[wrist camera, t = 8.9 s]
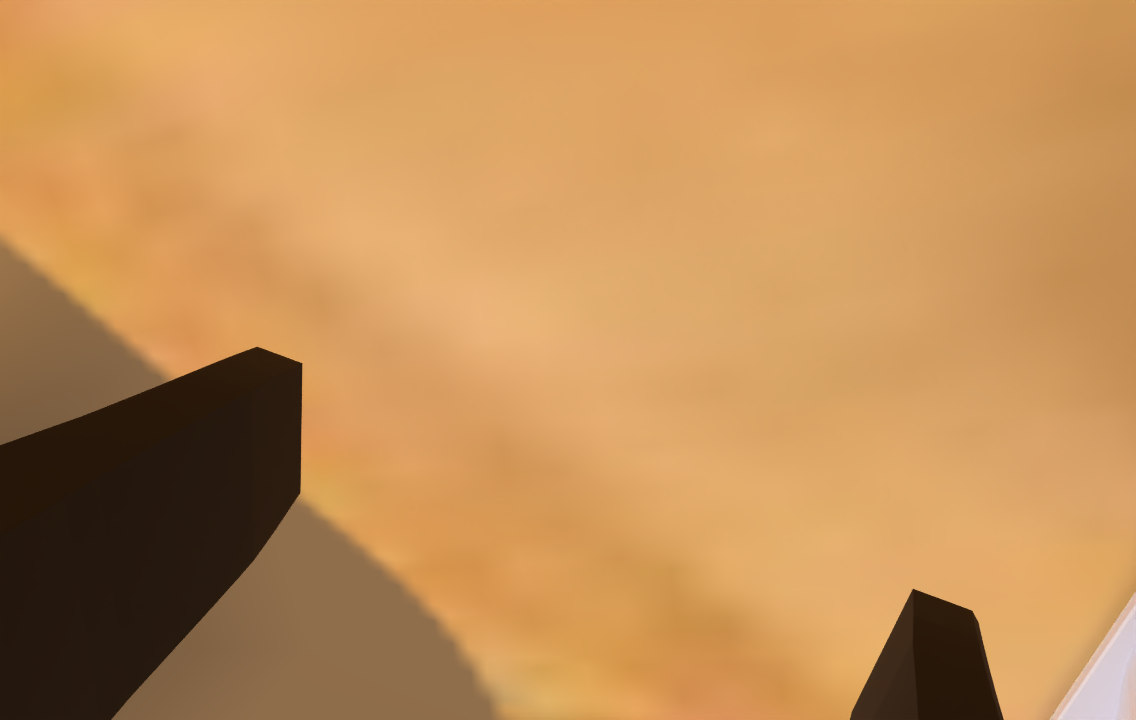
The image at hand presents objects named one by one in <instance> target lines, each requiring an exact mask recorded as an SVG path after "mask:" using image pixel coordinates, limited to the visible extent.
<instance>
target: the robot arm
mask: <svg viewBox="0 0 1136 720" xmlns="http://www.w3.org/2000/svg"><path fill="white" fill-rule="evenodd" d="M301 418H302V363H300V362H297V361H294V360H292V359H289V358H286V357H284V356H281V355H278V354H275V353H273V352H270V351H267V350H265V349H262V348H259V347H255V348H253V349H250V350H247V351H244V352H241V353H239V354H236V355H233V356H231V357H228V358H226V359H223V360H221V361H218V362H216V363H213V364H211V365H208V366H206V367H203V368H201V369H198V370H196V371H194V372H191V373H189V374H186V375H184V376H181V377H179V378H177V379H174V380H172V381H169V382H167V383H164V384H162V385H160V386H157V387H155V388H152V389H150V390H147V391H145V392H142V393H140V394H137V395H135V396H132V397H130V398H127V399H125V400H122V401H119V402H117V403H114V404H112V405H109V406H107V407H105V408H102V409H100V410H97V411H94V412H92V413H89V414H87V415H84V416H82V417H79V418H76V419H73V420H70V421H67V422H65V423H62V424H59V425H56V426H53V427H51V428H48V429H45V430H42V431H39V432H36V433H34V434H31V435H28V436H25V437H22V438H19V439H17V440H14V441H11V442H8V443H5V444H3V445H0V720H111V719H112V718H113V717H114V716H115V714H116V713H117V712H118V711H119V710H120V709H121V707H122V706H123V705H124V704H125V702H126V701H127V700H128V699H129V698H130V697H131V696H132V695H133V693H134V692H135V691H136V690H137V689H138V688H139V687H140V686H141V685H142V684H143V683H144V681H145V680H146V679H147V678H148V677H149V676H150V675H151V674H152V673H153V671H154V670H155V669H156V668H157V667H158V666H159V665H160V664H161V662H163V661H164V659H165V658H166V657H167V656H168V655H169V654H170V653H171V652H172V651H173V650H174V648H175V647H176V646H177V645H178V644H179V643H180V642H181V641H182V640H183V639H184V638H185V636H186V635H187V634H188V633H189V632H190V631H191V630H192V629H193V628H194V627H195V626H196V624H197V623H198V622H199V621H200V620H201V619H202V618H203V617H204V616H205V615H206V613H207V612H208V611H209V610H210V609H211V608H212V607H213V606H214V605H215V603H216V602H217V601H218V600H219V599H220V598H221V597H222V596H223V595H224V593H225V592H226V591H227V590H228V589H229V588H230V587H231V586H232V584H233V583H234V582H235V581H236V580H237V579H238V578H239V577H240V576H241V574H242V573H243V572H244V571H245V570H246V568H247V567H248V566H249V565H250V564H251V563H252V562H253V560H254V559H255V558H256V556H257V555H258V554H259V552H260V551H261V550H262V548H263V547H264V545H265V544H266V543H267V541H268V540H269V538H270V537H271V535H272V534H273V533H274V531H275V530H276V528H277V527H278V525H279V524H280V522H281V521H282V519H283V518H284V516H285V515H286V513H287V512H288V510H289V509H290V507H291V506H292V504H293V503H294V501H295V500H296V498H297V497H298V495H299V494H300V486H301ZM850 720H1004V719H1003V716H1002V712H1001V709H1000V706H999V702H998V699H997V695H996V692H995V688H994V684H993V680H992V677H991V673H990V669H989V665H988V661H987V657H986V653H985V649H984V645H983V641H982V636H981V632H980V627H979V623H978V621H977V619H976V617H975V615H974V613H973V611H972V610H969V609H966V608H963V607H961V606H958V605H955V604H953V603H950V602H947V601H944V600H942V599H939V598H936V597H934V596H931V595H928V594H926V593H923V592H920V591H917V590H915V589H913V590H912V592H911V594H910V596H909V598H908V600H907V602H906V604H905V606H904V608H903V610H902V612H901V614H900V616H899V618H898V620H897V622H896V624H895V626H894V628H893V630H892V632H891V634H890V636H889V638H888V640H887V642H886V644H885V646H884V648H883V650H882V652H881V654H880V656H879V658H878V660H877V662H876V664H875V666H874V668H873V670H872V672H871V674H870V676H869V678H868V680H867V682H866V684H865V686H864V688H863V690H862V692H861V694H860V696H859V698H858V701H857V703H856V705H855V707H854V709H853V711H852V714H851V718H850ZM1049 720H1136V592H1135V593H1134V595H1133V596H1132V598H1131V599H1130V601H1129V602H1128V603H1127V605H1126V606H1125V608H1124V609H1123V611H1122V612H1121V614H1120V615H1119V617H1118V618H1117V620H1116V621H1115V623H1114V624H1113V626H1112V627H1111V629H1110V630H1109V632H1108V633H1107V635H1106V636H1105V638H1104V639H1103V641H1102V642H1101V644H1100V645H1099V647H1098V648H1097V650H1096V651H1095V653H1094V654H1093V655H1092V657H1091V658H1090V660H1089V661H1088V663H1087V664H1086V666H1085V667H1084V669H1083V670H1082V672H1081V673H1080V675H1079V676H1078V678H1077V679H1076V681H1075V682H1074V684H1073V685H1072V687H1071V688H1070V690H1069V691H1068V693H1067V694H1066V696H1065V697H1064V699H1063V700H1062V702H1061V703H1060V705H1059V706H1058V707H1057V709H1056V710H1055V712H1054V713H1053V715H1052V716H1051V718H1050V719H1049Z"/></svg>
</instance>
